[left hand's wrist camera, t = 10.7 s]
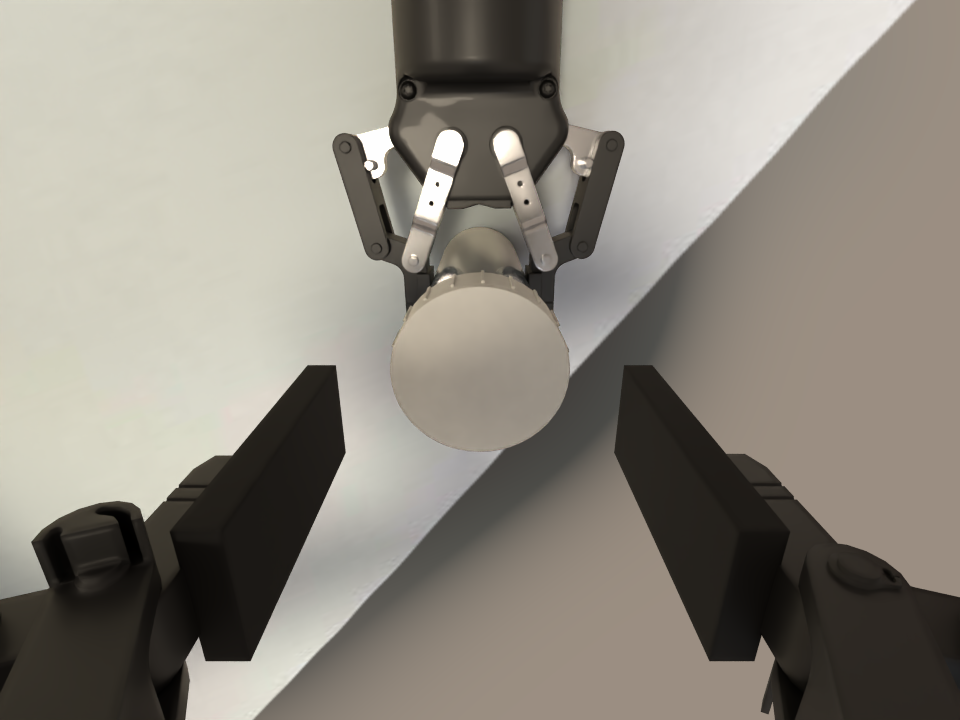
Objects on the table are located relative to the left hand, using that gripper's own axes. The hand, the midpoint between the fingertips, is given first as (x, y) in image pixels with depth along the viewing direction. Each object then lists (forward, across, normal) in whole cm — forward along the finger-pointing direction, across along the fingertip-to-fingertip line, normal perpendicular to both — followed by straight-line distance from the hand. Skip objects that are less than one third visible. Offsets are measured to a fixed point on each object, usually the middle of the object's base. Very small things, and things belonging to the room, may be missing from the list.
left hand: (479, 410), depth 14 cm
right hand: (+14, 0, -3) cm, 14 cm away
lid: (+3, 0, 0) cm, 3 cm away
